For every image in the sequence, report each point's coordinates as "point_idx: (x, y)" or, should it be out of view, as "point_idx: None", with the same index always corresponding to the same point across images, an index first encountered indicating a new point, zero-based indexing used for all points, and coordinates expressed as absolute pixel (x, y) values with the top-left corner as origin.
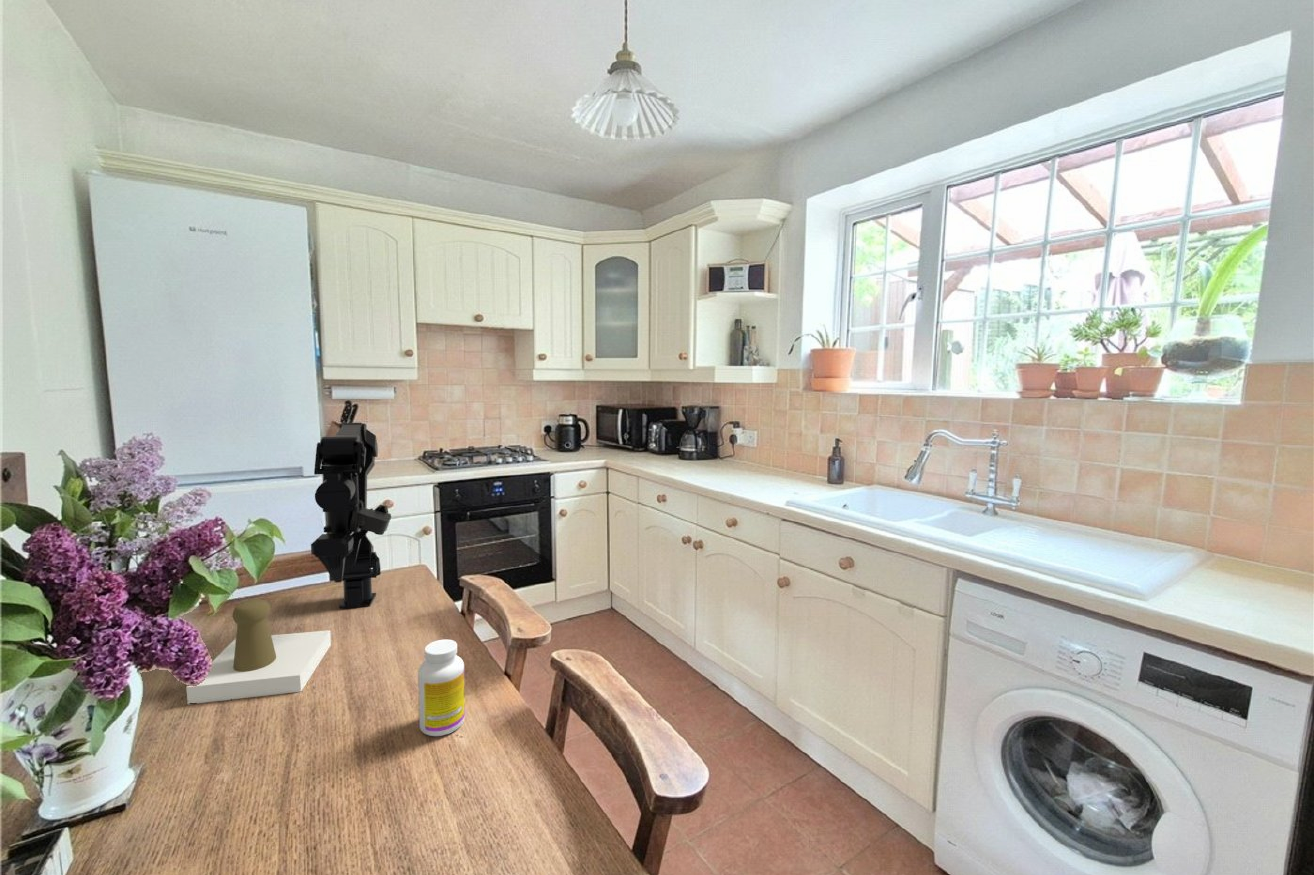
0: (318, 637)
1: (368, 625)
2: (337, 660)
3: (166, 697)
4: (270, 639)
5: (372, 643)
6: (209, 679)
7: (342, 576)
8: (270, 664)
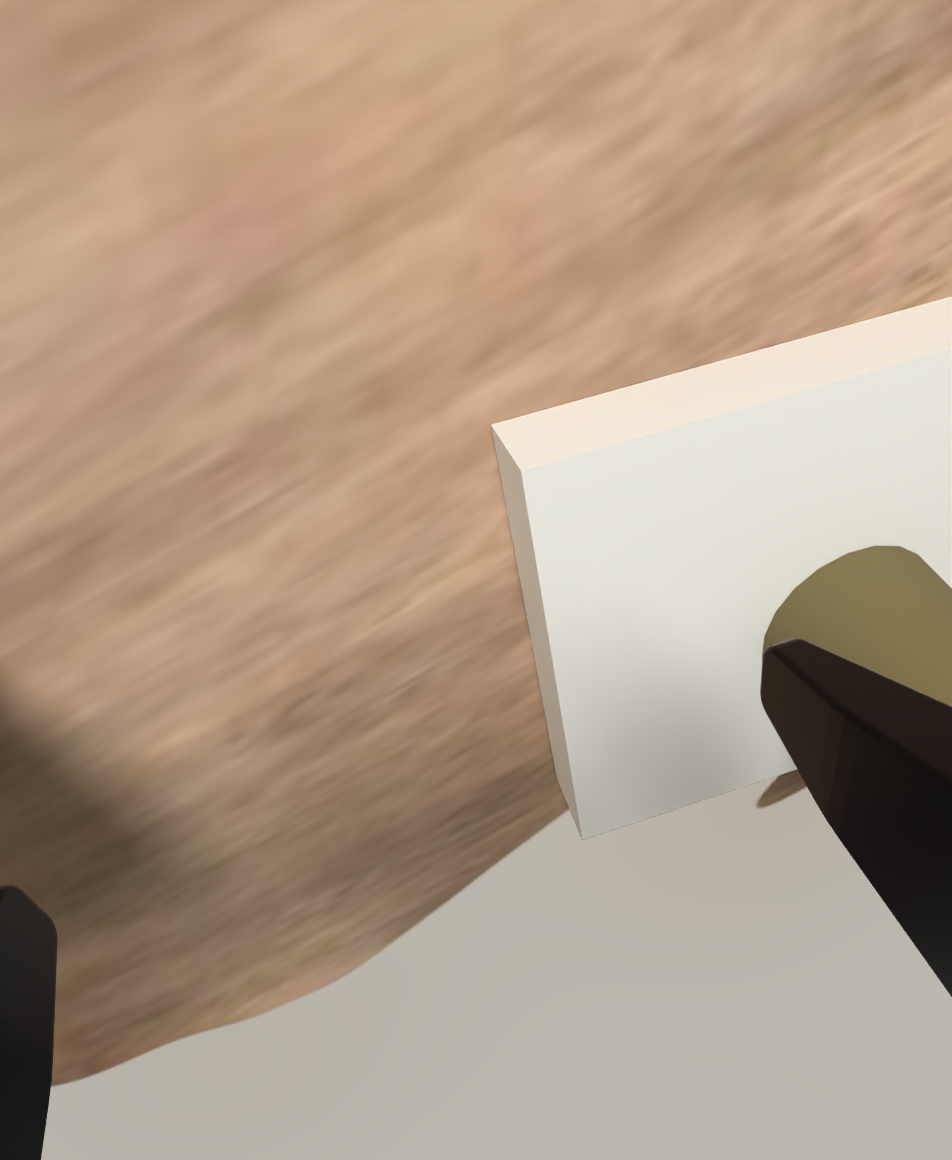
0: (623, 485)
1: (158, 307)
2: (706, 257)
3: None
4: (948, 641)
5: (479, 92)
6: None
7: (854, 685)
8: (897, 541)
